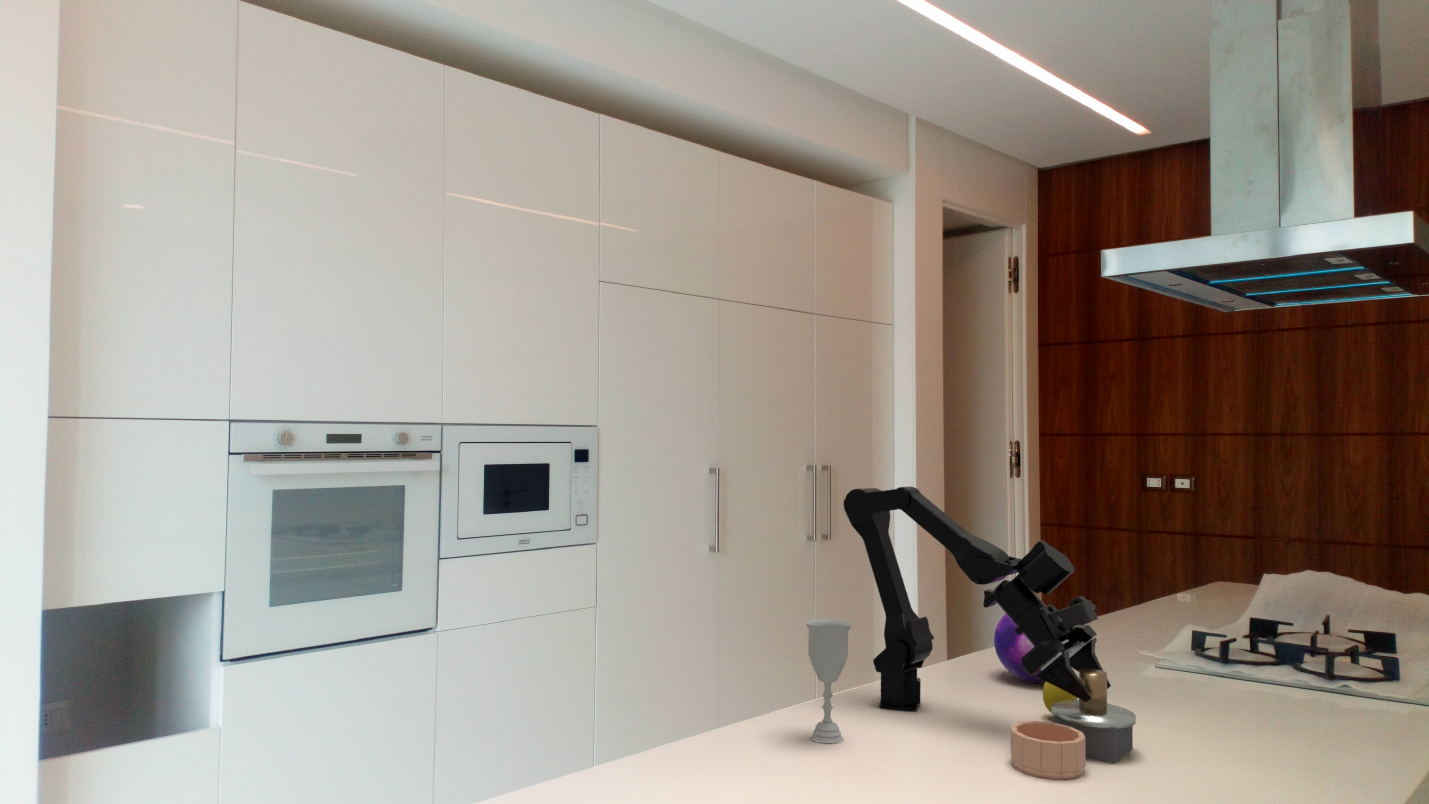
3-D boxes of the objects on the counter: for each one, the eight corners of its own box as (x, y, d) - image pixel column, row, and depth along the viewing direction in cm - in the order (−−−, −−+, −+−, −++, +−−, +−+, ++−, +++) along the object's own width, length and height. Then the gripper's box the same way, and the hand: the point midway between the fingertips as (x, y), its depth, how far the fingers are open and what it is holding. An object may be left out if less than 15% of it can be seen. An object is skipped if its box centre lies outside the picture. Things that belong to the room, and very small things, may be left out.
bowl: (1013, 774, 128) (1013, 739, 128) (1008, 751, 138) (1009, 718, 138) (1089, 782, 126) (1089, 746, 126) (1079, 758, 135) (1079, 724, 135)
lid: (1056, 724, 136) (1056, 678, 136) (1047, 702, 147) (1047, 659, 147) (1143, 732, 133) (1143, 685, 133) (1127, 708, 144) (1127, 665, 144)
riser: (1053, 749, 139) (1053, 716, 139) (1073, 735, 146) (1073, 704, 146) (1114, 763, 133) (1114, 729, 134) (1132, 748, 140) (1132, 715, 140)
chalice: (854, 734, 144) (855, 620, 145) (846, 748, 138) (847, 629, 139) (809, 729, 147) (810, 617, 148) (799, 742, 140) (800, 625, 141)
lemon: (1080, 725, 151) (1080, 677, 152) (1045, 722, 152) (1045, 674, 153) (1074, 715, 157) (1074, 668, 157) (1040, 713, 158) (1040, 666, 158)
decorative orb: (979, 679, 180) (979, 603, 180) (1018, 667, 190) (1018, 595, 191) (1050, 696, 169) (1051, 614, 169) (1088, 682, 179) (1088, 606, 179)
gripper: (1041, 587, 137) (1119, 674, 129) (1083, 574, 151) (1155, 652, 143) (991, 632, 141) (1063, 718, 134) (1036, 616, 155) (1103, 693, 148)
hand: (1099, 693), depth 139 cm, fingers open, 9 cm apart
